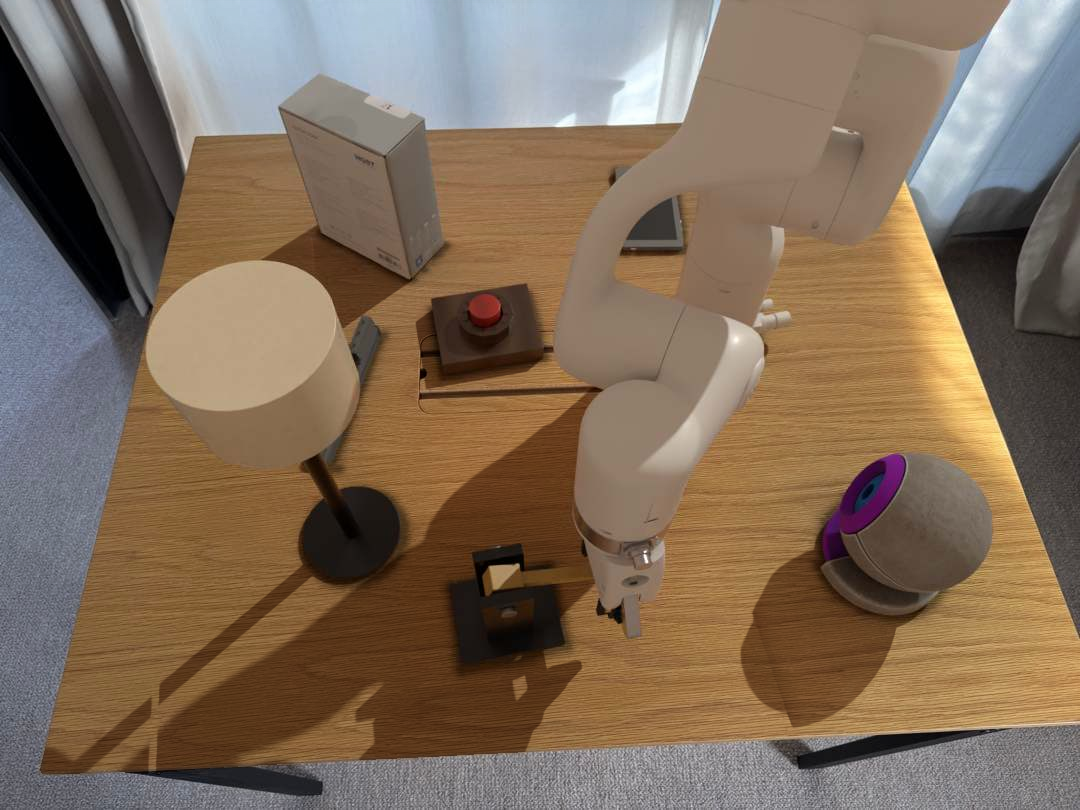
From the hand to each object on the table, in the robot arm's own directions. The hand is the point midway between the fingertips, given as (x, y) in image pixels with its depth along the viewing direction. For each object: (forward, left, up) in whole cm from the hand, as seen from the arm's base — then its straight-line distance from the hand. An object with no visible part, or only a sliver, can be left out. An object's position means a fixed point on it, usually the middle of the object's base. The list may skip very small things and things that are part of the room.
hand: (605, 579), depth 72 cm
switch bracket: (+10, 0, -6) cm, 11 cm away
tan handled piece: (+5, 0, +3) cm, 6 cm away
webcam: (-29, +2, -6) cm, 30 cm away
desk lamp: (+24, -11, -6) cm, 27 cm away
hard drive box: (+17, -52, -6) cm, 55 cm away
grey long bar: (+23, -28, -6) cm, 37 cm away
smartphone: (-19, -50, -6) cm, 54 cm away
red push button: (+6, -34, -2) cm, 35 cm away
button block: (+6, -34, -6) cm, 35 cm away
